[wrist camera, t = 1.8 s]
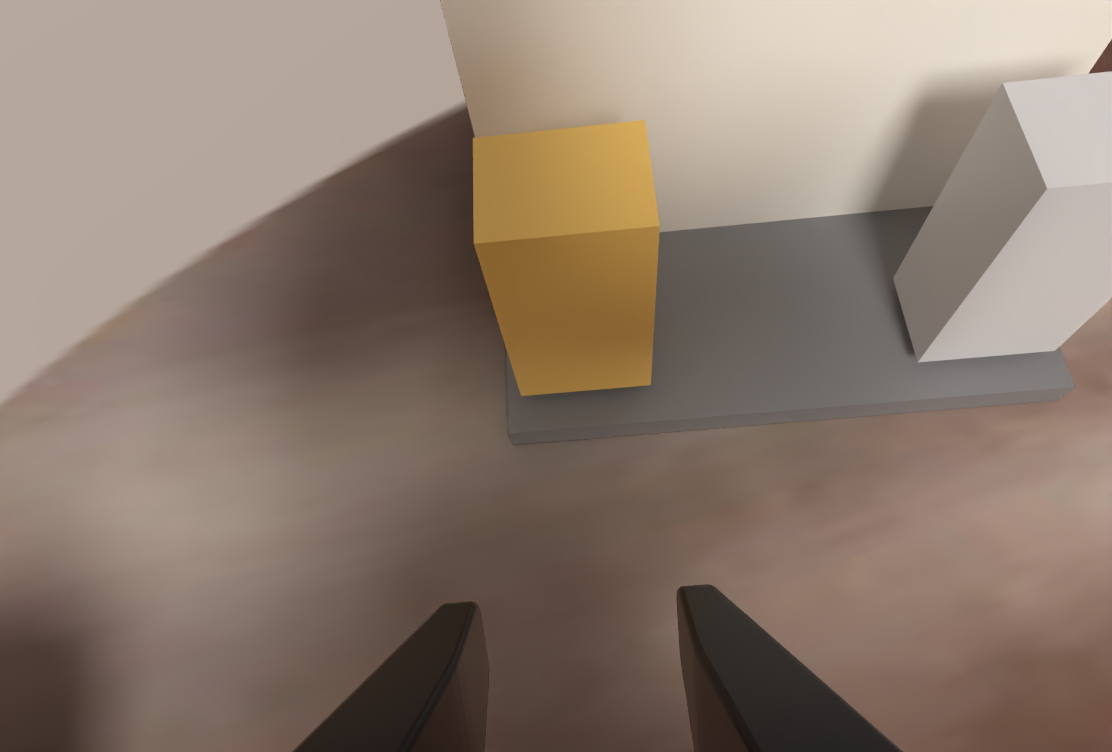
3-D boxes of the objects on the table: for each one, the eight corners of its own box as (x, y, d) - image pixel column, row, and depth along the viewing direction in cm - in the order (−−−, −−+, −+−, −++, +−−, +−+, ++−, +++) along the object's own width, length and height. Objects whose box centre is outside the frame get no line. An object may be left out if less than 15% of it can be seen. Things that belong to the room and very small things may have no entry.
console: (1058, 400, 24) (1387, 133, 13) (512, 444, 25) (428, 227, 14) (957, 130, 29) (1142, -218, 18) (504, 176, 29) (437, -131, 19)
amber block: (650, 385, 23) (659, 225, 16) (521, 396, 24) (473, 244, 17) (640, 301, 25) (644, 119, 18) (517, 312, 25) (472, 137, 18)
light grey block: (1054, 350, 23) (1249, 169, 16) (917, 362, 23) (1047, 188, 16) (1022, 266, 24) (1188, 63, 17) (893, 278, 24) (1002, 82, 17)
